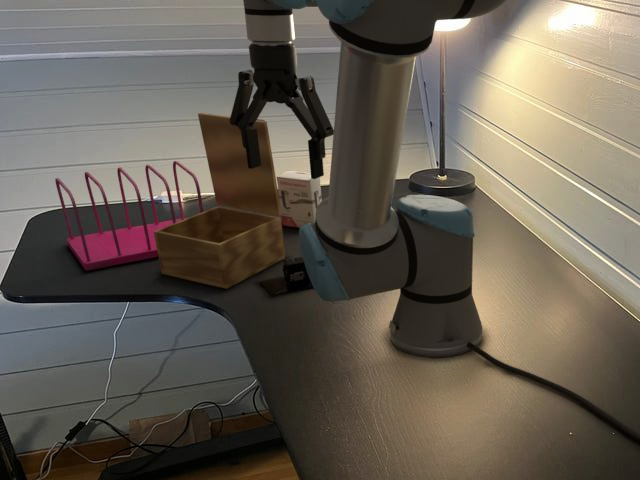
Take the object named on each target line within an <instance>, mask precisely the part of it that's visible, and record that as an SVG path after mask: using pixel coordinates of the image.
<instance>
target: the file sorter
mask: <svg viewBox="0 0 640 480" xmlns="http://www.w3.org/2000/svg"><path fill="white" fill-rule="evenodd" d="M177 166H178V167H179V168H180V169H181V170H184V172H185V173H187V174H188V175H189V176H190V177H192V179H193V181H194V185H195V188H196V195H197V199H198V207H199V213H202V212H204V206H203V200H202V195H201V188H200V184H199V181H198V178H197V176H196V175H195V174H194V172H192V171H191V170H190V169H189V168H187V166H185V165H184V164H182V163H181V162H179V161H178V160H174V161H173V162H172V172H173V177H174V184H175V189H176V195H177V202H178V207H179V213H180V218H178V219H176V214H175V209H174V204H173V199H172V198H173V197H172V193H171V189H170V186H169V183H168V181H167V179H166V178H165V177H164V176H163V175H162V174H161V173H160V172H159V171H157V170H156V168H154V167H153V166H152V165H150V164H146V165H145V170H144V171H145V177H146V182H147V188H148V193H149V198H150V203H151V208H152V213H153V217H154V223H148V224H147V221H146V220H147V219H146V217H145V211H144V205H143V202H142V197H141V192H140V190H139V187H138V185H137V183H136V182H135V180H134V179H133V178H132V177H131V176H130V175H129V174H128V173H127V172H126V171H125V170H124V169H123V167H120V166H119V167H117V172H116V173H117V178H118V184H119V188H120V193H121V199H122V204H123V208H124V214H125V219H126V225H127V227H125V228H119V229H116V228H115V224H114V221H113V217H112V213H111V209H110V205H109V203H108V199H107V195H106V192H105V190H104V188H103V186H102V184H101V183H100V182H99V181H98V180H97V179H96V178H95V177H94V176H93V175H92V174H91V173H90V172H89V171H84V179H85V180H84V181H85V183H86V184H85V185H86V188H87V191H88V195H89V199H90V203H91V205H92V209H93V213H94V217H95V220H96V224H97V228H98V231H99V232H96V233H90V234H84V230H83V227H82V223H81V218H80V215H79V212H78V207H77V203H76V201H75V198H74V195H73V193H72V191H71V190H70V189H69V187H68V186H66V184H65V183H64V182H63V181H62V180H61V179H60V178H59V177H56V178H55V181H54V182H55V186H56V191H57V194H58V198H59V201H60V204H61V208H62V213H63V215H64V216H63V217H64V219H65V223H66V228H67V231H68V234H69V237H68V238H66V243H67V246H68V248H69V249H70V250H71V252H72V253H73V254H74V256H75V258H76V259H77V260H78V262H79V263H80V264H81V266H82V267H83V269H84V271H88V272H89V271H93V270H98V269H103V268H107V267H112V266H117V265H123V264H127V263H132V262H138V261H143V260H148V259H152V258H159V257H158V252H157V247H156V242H155V237H154V233H153V231H155V230H158V229H161V228H163V227H166V226H168V225H171V224H174V223H176V222H179V221H181V220H184V219H186V218H187V217H185V216H184V209H183V204H182V197H181V192H180V186H179V185H180V184H179V179H178V174H177ZM149 170H150V171H151V172H153V174H154V175H156V177H158V178H159V179H160V180H161V181H162V182H163V184H164V185H165V191H166V195H167V198H168V203H169V209H170V215H171V220H165V221H161V222H159V221H158V215H157V210H156V209H157V208H156V204H155V199H154V194H153V189H152V183H151V178H150V172H149ZM122 175H123V176H124V177H125V178H126V179H127V180H128V181H129V182H130V183H131V184H132V186H133V188H134V190H135V193H136V198H137V202H138V208H139V211H140V217H141V223H142V224H141V225H136V226H132V225H131V219H130V216H129V215H130V214H129V210H128V204H127V200H126V195H125V190H124V185H123V180H122ZM89 179H90V180H91V181H92V182H93V183H94V184H95V185H96V186H97V187H98V189H99V190H100V191H99V192H100V194H101V196H102V198H103V203H104V207H105V210H106V213H107V217H108V222H109V225H110V229H111V230H106V231H103V228H102V224H101V220H100V217H99V213H98V210H97V209H98V208H97V206H96V203H95V202H96V201H95V198H94V195H93V192H92V188H91V184H90V180H89ZM61 187H62V189H63V190H64V191H65V192H66V193H67V195H68V197H69V199H70V201H71V204H72V208H73V213H74V216H75V219H76V223H77V226H78V231H79V236H74V233H73V231H72V225H71V223H70V218H69V216H68V212H67V208H66V204H65V200H64V198H63V197H64V196H63V193H62V190H61Z"/></svg>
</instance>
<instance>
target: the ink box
mask: <svg viewBox="0 0 640 480" xmlns="http://www.w3.org/2000/svg"><path fill="white" fill-rule="evenodd" d="M276 183H277V189H278V195H279V201H280V208H281V214H282V215H281V223H282V227H288V228H289V227H290V228H296V229H297V228H298V229H300V228H301V227H302V226H303V225H306V224H307V223H311V224H313V223H315V218H316V210H317V207H318V205H319V204H320V203H321V202H322V201H323V199H322V187H321V177H319V178H316V179H311V172H307V171H298V170H297V171H296V170H285V171H284V172H282V173H280V174H278V175H277V176H276Z"/></svg>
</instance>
